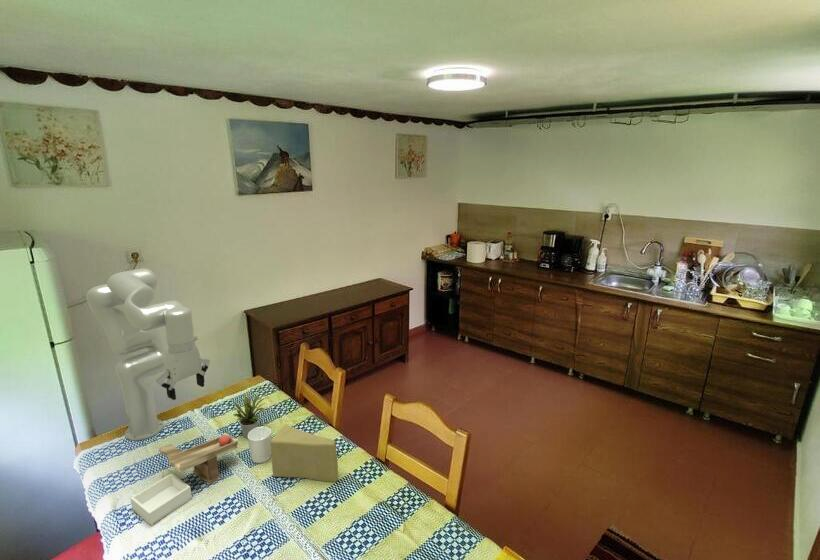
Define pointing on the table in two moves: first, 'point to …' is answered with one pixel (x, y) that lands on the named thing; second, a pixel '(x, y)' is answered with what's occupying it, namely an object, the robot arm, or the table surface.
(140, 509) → the dish
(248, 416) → the house plant
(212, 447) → the lever
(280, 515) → the table surface
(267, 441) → the white cup
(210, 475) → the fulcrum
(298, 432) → the cheese
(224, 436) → the ball
